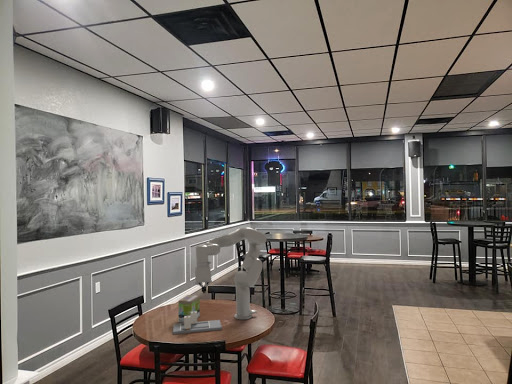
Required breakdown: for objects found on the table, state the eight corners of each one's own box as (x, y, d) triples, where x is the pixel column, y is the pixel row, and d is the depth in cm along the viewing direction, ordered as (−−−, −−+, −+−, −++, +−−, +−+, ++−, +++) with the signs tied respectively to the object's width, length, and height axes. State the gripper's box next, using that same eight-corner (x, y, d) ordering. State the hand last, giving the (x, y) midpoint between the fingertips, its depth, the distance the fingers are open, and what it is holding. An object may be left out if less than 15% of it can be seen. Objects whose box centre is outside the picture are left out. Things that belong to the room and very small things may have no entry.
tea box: (192, 323, 234) (191, 301, 234) (178, 322, 236) (177, 300, 236) (200, 315, 249) (199, 295, 249) (186, 315, 251) (186, 294, 251)
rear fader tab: (197, 321, 230) (196, 310, 231) (197, 323, 227) (197, 312, 228) (190, 322, 230) (190, 311, 230) (191, 324, 227) (190, 312, 227)
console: (219, 322, 235) (219, 319, 235) (221, 329, 221) (221, 326, 221) (173, 326, 229) (173, 323, 229) (172, 334, 215) (172, 331, 215)
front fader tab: (190, 326, 222) (190, 314, 222) (190, 328, 219) (190, 316, 219) (184, 327, 221) (184, 315, 221) (184, 329, 218) (184, 317, 218)
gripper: (213, 262, 232) (215, 289, 232) (190, 264, 228) (192, 292, 228) (214, 264, 224) (216, 293, 224) (191, 266, 221) (192, 295, 221)
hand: (204, 292), depth 226 cm, fingers closed
